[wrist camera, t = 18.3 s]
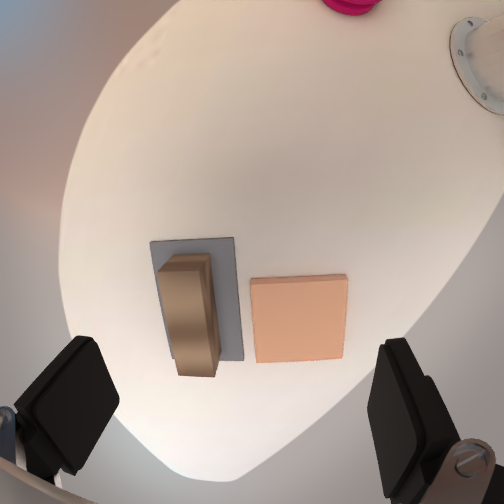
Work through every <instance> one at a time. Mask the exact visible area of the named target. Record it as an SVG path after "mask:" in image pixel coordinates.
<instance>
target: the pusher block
mask: <svg viewBox="0 0 504 504" xmlns="http://www.w3.org/2000/svg"><path fill="white" fill-rule="evenodd" d="M157 276H158V282H159V287H160V293H161V298H162V303H163V309H164V314H165V319H166V323H167V328H168V333H169V337H170V342H171V346H172V351H173V355H174V359H175V363H176V367H177V372H178V375H180V376H196V377H215V374H216V370H217V367H218V363H219V359H220V355H221V351H222V349H221V341H220V334H219V326H218V318H217V310H216V302H215V294H214V285H213V276H212V267H211V258H210V253H208V254H180V255H172V257H171V258H170V259H169V260H168V261H167V262H166V263H165V264H164V265H163V266H162V267H161V268H160V269H159V270H158V271H157Z"/></svg>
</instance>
